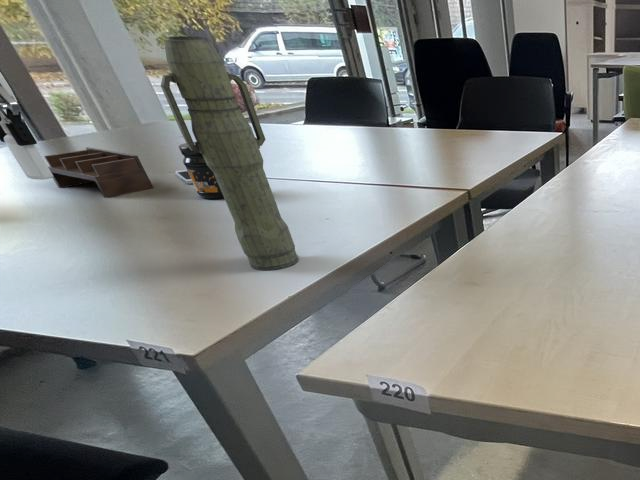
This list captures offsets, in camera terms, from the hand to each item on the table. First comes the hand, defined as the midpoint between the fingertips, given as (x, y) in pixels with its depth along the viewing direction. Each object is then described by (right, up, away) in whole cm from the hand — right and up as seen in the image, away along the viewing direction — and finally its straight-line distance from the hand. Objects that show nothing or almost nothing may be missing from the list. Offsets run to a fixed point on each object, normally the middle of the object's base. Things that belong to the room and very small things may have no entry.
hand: (19, 142), depth 109 cm
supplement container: (+22, +3, +29) cm, 37 cm away
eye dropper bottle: (0, -5, +5) cm, 7 cm away
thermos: (+60, -29, -8) cm, 67 cm away
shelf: (-13, +7, +32) cm, 35 cm away
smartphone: (+4, +15, +42) cm, 45 cm away
